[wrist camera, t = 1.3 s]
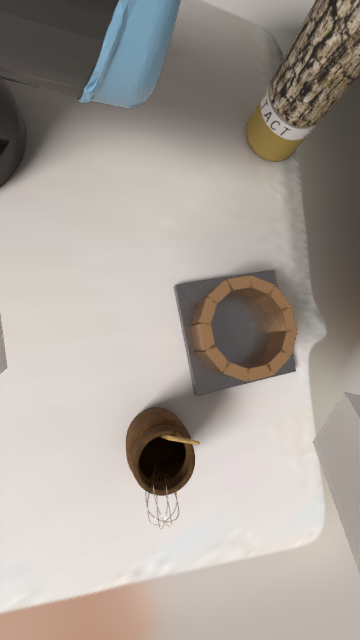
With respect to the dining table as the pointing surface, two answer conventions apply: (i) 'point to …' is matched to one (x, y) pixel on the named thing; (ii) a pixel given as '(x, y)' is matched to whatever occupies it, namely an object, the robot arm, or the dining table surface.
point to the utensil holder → (160, 454)
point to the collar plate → (236, 330)
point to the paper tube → (308, 79)
